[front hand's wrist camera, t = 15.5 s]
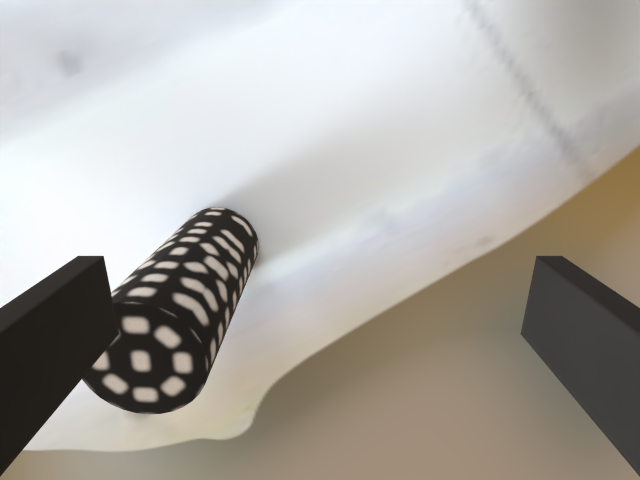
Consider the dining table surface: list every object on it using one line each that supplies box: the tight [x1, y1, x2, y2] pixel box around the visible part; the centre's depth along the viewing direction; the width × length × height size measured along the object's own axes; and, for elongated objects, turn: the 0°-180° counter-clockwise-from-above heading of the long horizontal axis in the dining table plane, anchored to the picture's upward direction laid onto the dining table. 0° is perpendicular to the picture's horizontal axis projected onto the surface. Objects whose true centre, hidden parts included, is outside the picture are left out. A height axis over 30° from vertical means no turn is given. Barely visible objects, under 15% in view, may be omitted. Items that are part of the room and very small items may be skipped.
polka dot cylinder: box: [82, 208, 258, 414], centre depth 34 cm, size 8×8×20 cm
